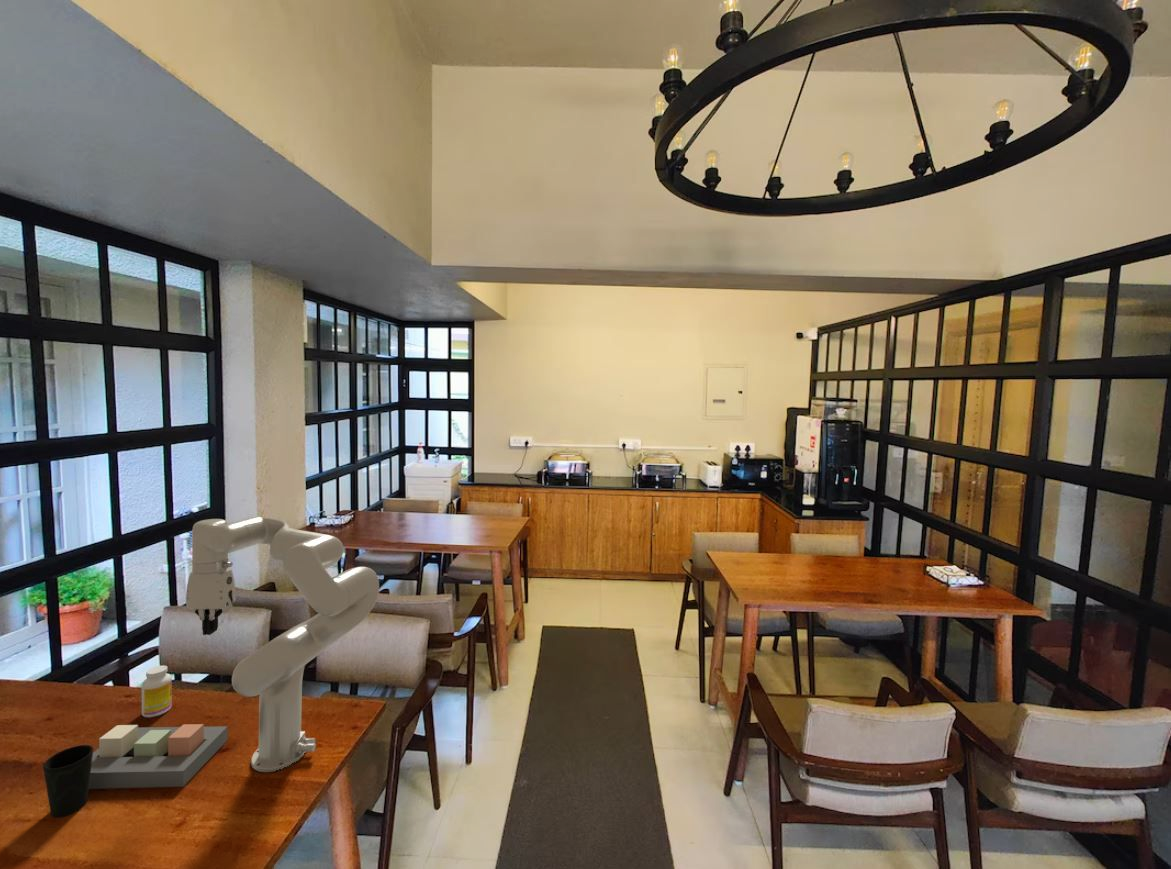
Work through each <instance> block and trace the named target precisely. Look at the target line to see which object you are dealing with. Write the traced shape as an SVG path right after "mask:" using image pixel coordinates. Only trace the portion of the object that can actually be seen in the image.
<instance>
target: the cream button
mask: <svg viewBox="0 0 1171 869" xmlns="http://www.w3.org/2000/svg"><path fill="white" fill-rule="evenodd" d="M138 728H139V725H138V724H120V725H119V724H118V725H117V724H116V725H115V726H114V727H112V729H111V730H109V731H107V732H106V733H105V734H103V735H102V736H101V737H99V738H98V739H99V740H98V747H99V748H98V749H99V757H125V756H126V755H125V754H126V753H127V752H128V751H130V750H131V749H132V748H133V747H134V743H135V742H137V741H138Z"/></svg>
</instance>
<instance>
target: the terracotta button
mask: <svg viewBox="0 0 1171 869" xmlns="http://www.w3.org/2000/svg"><path fill="white" fill-rule="evenodd" d="M204 725H205V724H203V723H201V724H200V723H199V724H198V723H196V724H194V723H193V724H191V723H189V724H185V723H184V724H182V725H181V726H179V727H180V728H179V729H178V730H176V731H175V732H174V733H173V734H172V735H171V736H170V737H169V738H168V754H167V756H190V755H191V754H192V753H193V752H194V751H195V750H196V749H197V748H198V747H199V746H200V745H201V744H202V743H204V727H205V726H204Z"/></svg>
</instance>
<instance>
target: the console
mask: <svg viewBox="0 0 1171 869" xmlns="http://www.w3.org/2000/svg"><path fill="white" fill-rule="evenodd" d="M180 727H181V726H166V727H165V726H157V727H156V726H155V727H154V726H153V727H152V726H151V727H150V726H149V727H146V726H145V727H143V726H142V727H138V740H139V739H140V738H141V737H143V736H144V735H145V734H146V733H148V732H149V731H150V730H171V735H172V734H173V733H174V732H175V731H176V730H178V729H179V728H180ZM228 727H229V726H223V725H222V726H220V725H219V726H204V743H202V744H201V745H200V746H199V747H198V748H197V749H196V750H195V751H194V752H193V753H192V754H191V755H190V756H168V751H167V752H166V753H165V754H164V755H166V756H164V755H163V756H155V757H134V747H133V748H132V749H131V750H130V751H128V752H127V753H126V754H125V755H124V756H122V757H99V748H97V749H96V750H94V751H93V756H92V764H91V773H90V781H89V789H88V790H96V789H97V790H99V789H101V790H102V789H105V790H106V789H135V788H136V789H137V788H138V789H139V788H141V789H142V788H144V789H145V788H149V789H150V788H180V787H181V788H183V787H185V786H186V785H187V783H189V781H190V780H191V779H192V778H193V777H194V776H195V775H196V774H198V772H199V771H200V770H201V769H202V768H203V766H205V765H206V764H207V763H208V761H210V759H211V758H212V757H214V755H215V754H216V753H217V752H218V751H219V750H220V749H221V748H222V747H223V745H225V743H226V742H228V738H229V736H228V735H229V734H228V731H229V728H228Z"/></svg>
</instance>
